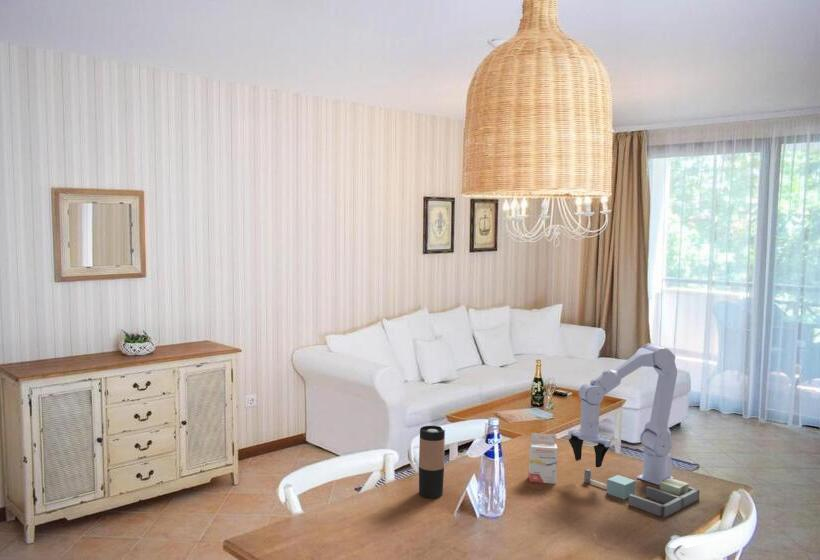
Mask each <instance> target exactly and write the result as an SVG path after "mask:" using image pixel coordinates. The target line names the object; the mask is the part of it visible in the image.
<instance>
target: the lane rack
mask: <svg viewBox="0 0 820 560" xmlns="http://www.w3.org/2000/svg"><path fill="white" fill-rule="evenodd" d="M664 480H666V479H663V481H664ZM645 497H646V498H644V497H642V496H638V495H636V494H635V495H633V494H630V495H629V498H628V506H630V505H631V507H633V506H634V507H633V508H636V507H637V508H636V509H639V508H640V509H639V510H641V509H642V510H641V511H644V510H645V512H648V513H650V514H653V515H656V516H658V517H661V518H666V517H669V516H670V515H672V514H675V512H676V513H677V512H678V511H680V510H682V509H683V508H685V507H688V506H689V505H692V504H694V503H695V502H697V501H699V500H700V489H699V488H695V487H692V486H689V489H688V493H686V494H684V495H682V496H677V495H674V494H671V493H668V492H665V491H662V490H660V489H657V488H655V487H652V486H646V488H645ZM648 497H649V498H648ZM647 498H648V499H647ZM651 499H652V500H651ZM653 500H654V501H653ZM655 501H658V502H660V503H658V502H655ZM661 503H663V504H661Z"/></svg>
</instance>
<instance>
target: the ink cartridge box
mask: <svg viewBox="0 0 820 560" xmlns="http://www.w3.org/2000/svg"><path fill="white" fill-rule="evenodd" d="M543 437H544V438H543ZM558 452H559V449H558V445H557V435H556V434H548V433H534V432H532V433H531V435H530V442H529V458H528V480H529V483H541V484H551V485H552V484H553V485H554V484H557V474H558V456H559V455H558V454H559V453H558Z"/></svg>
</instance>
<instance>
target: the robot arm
mask: <svg viewBox="0 0 820 560" xmlns="http://www.w3.org/2000/svg"><path fill="white" fill-rule="evenodd" d="M675 361H676V355H675V354H674V352H672V350H670V349H669V348H667V347H663V346H659V345H657V344H655V343H650V342H649V343H646V344H644V345H643V347H640V348H638V349H637V350H636V352H635V353H634V354H633V355H632V356H630V357H629V358H628V359H627V360H625V361H624V362H623V363H622V364H620V365H619V366H618V367H616V368H615V369H614V370H613V369H608V370H606V369H605V370H603V371H602V372H601V373H602V374H600V375H599V376H598V377H596V378H595V379H592V380H590V382H586V383H583V384H582V385H581V386H580V388H579V390H578V391H577V394H578V397H579V398H580V418H579V419H580V420H579V421H580V423H579V424H580V425H579V427H580V429H579V430H576V429H569V430H567V431H568V435H567V436H568V437H570V438H569V439H568V442H569V444H570V446H571V448H572V452H573V455H574V459H575V461H576V462H578V461H581V459H582V449H583V444H584V441H587V442H591V443H594V444H596V445H593V450H594V454H595V462H594V463H595V468H600V467H602V464H603V460H604V457H605V456H606V453H607V452H608V450H609V449H610V447H611V445H612V441H611V439H609V438H606V437H604V436H601V435H600V434H599V433H600V432H599V431H600V407H601V406H600V405H601V403H602V402H603V400H604V397H605V396H606V395H607V394H608V393H611V391H613V390H614V389H615V388H617V387H618V386H620V384H621V382H622V380H623V378H626V377H627V376H629V375H630V374H632V373H633V372H635V371H637V370H638V369H640V368H642V367H648V368H649V367H650V368H651V367H652V368H653V370H654V371H656V373H657V374H658V376H657V381H656V382H657V383H656V388H655V392H654V397H653V398H654V399H653V403H652V409H651V413H650V419H649V421H648V422H646V423H645V425H644V428H643V430H642V432H641V434H640V436H639V440H640V443H641V445H642V446H643V453H642V454H643V457H642V474H639V475H637V476H636V479H639V480H642V481H645V482H648V483H652V484H654V485H658V486H660V482H662V481H663V479H668V478H672V479H674V476H672V463H673V462H672V460H673V459H672V456H671V454H670V453H671V451H672V448H673V443H672V432H671V430H670V428H669V426H668V425H669V419H670V414H671V409H672V403H673V399H674V398H673V397H674V393H675V389H676V388H675V387H676V382H677V377H678V368H677V365H676V362H675Z"/></svg>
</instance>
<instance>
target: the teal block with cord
mask: <svg viewBox="0 0 820 560" xmlns="http://www.w3.org/2000/svg"><path fill="white" fill-rule="evenodd" d="M583 476H584V477H583V482H585V484H587V483H589V484H591V483H593V484H596V485H598V486H602V487H603V488H604V487H605V488H606V494H607V493H608V494H607V495H610V496H612V495H613V497H615V496H616V497H615V498H618V497H619V499H621V498H622V500H624V499H625V500H626V498H627V499H629V498H628V497H629V495H630V494H633V495H634V494H635V495H636V482H637V481H636V480H635V479H631V478H629V477H626V476H622V475H620V474H617V475H614V476H611V477H609V478H607V481H606V483H603V482H601V481H597V480H594V479H592V470H591V469H589V468H585V469H584V475H583Z"/></svg>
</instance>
